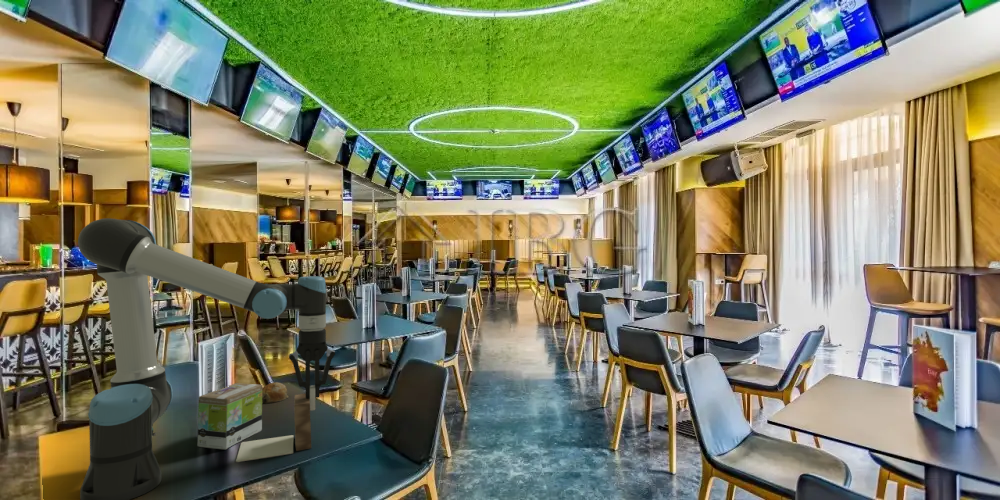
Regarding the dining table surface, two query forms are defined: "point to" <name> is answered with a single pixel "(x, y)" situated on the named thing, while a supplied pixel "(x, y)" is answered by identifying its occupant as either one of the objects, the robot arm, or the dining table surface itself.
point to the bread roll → (274, 392)
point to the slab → (302, 422)
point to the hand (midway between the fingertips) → (312, 408)
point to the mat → (265, 448)
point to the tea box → (229, 415)
